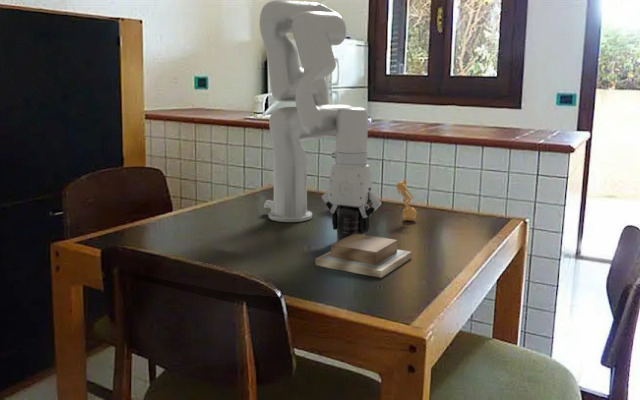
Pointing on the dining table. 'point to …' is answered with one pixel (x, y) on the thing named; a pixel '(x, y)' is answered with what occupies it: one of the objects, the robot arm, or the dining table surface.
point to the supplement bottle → (348, 221)
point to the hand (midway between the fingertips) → (350, 229)
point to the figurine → (408, 212)
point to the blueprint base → (362, 268)
